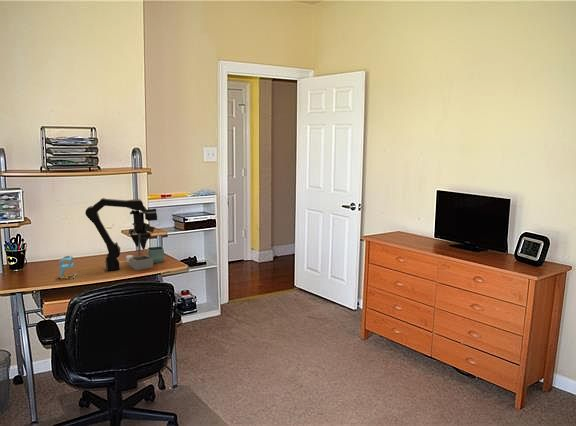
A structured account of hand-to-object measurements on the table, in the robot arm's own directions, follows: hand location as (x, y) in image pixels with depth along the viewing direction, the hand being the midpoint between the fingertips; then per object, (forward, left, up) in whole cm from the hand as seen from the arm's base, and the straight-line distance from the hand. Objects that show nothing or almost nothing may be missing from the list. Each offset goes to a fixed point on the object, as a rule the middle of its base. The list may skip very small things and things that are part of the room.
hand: (140, 248), depth 298 cm
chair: (-39, +8, -12) cm, 42 cm away
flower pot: (+12, +6, -12) cm, 18 cm away
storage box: (0, 0, -12) cm, 12 cm away
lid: (-1, +16, -13) cm, 20 cm away
